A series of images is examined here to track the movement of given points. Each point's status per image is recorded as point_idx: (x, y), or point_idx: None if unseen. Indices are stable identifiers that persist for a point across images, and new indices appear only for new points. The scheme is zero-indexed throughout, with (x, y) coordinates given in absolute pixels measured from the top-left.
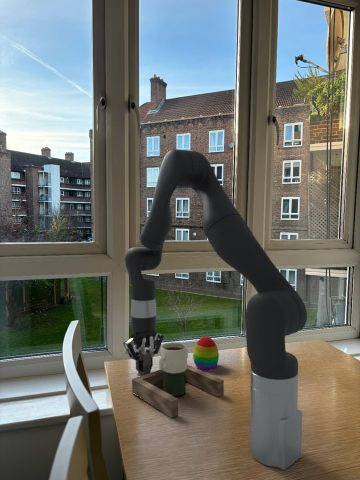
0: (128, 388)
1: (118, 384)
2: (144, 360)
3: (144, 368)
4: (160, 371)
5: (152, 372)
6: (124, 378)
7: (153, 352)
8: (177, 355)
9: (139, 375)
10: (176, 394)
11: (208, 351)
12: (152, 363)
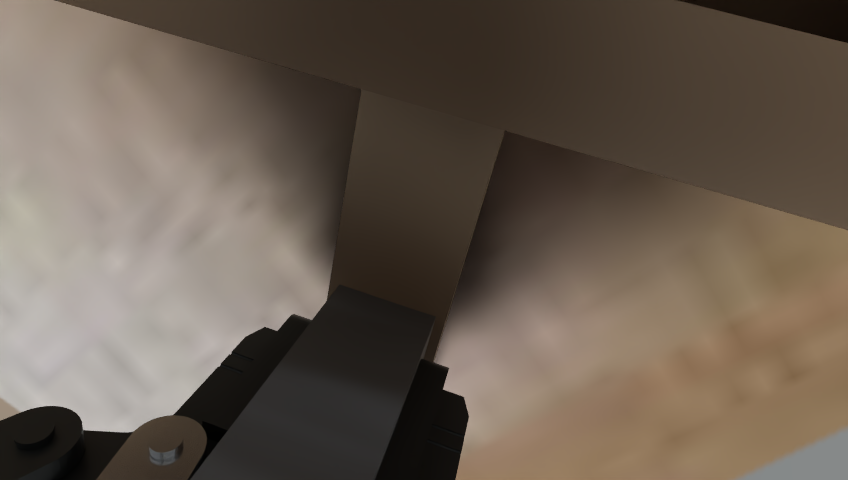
0: (736, 315)
1: (686, 444)
2: (360, 464)
3: (403, 369)
4: (423, 15)
5: (554, 133)
6: (530, 456)
7: (91, 475)
8: None
9: None
10: None
11: None
12: (232, 354)
